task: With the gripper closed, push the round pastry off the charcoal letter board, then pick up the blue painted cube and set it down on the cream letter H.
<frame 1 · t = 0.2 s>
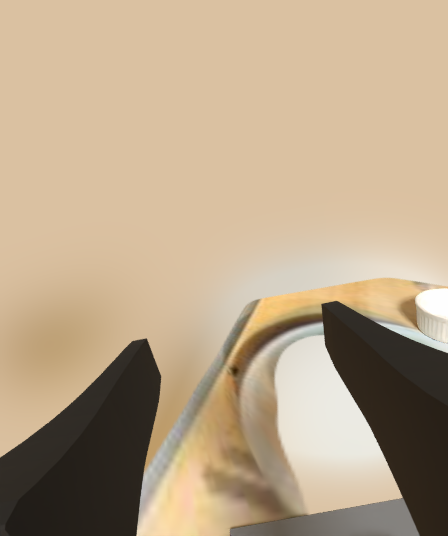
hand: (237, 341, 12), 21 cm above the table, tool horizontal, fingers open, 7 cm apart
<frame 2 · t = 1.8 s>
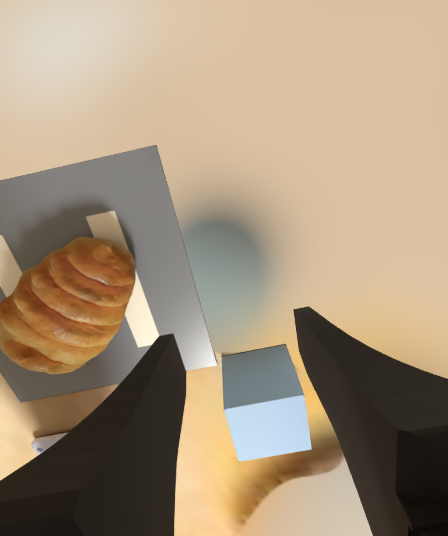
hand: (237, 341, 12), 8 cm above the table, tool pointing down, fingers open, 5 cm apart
pastry: (77, 295, 20), resting on letter board
blue cube: (258, 374, 24), on the table
letter board: (77, 294, 20), on the table
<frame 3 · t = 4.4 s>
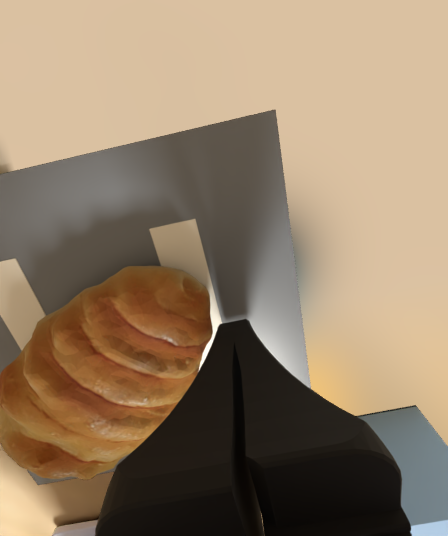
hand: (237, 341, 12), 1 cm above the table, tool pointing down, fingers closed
pastry: (116, 346, 14), resting on letter board, touching gripper
blue cube: (369, 444, 17), on the table
letter board: (126, 343, 14), on the table
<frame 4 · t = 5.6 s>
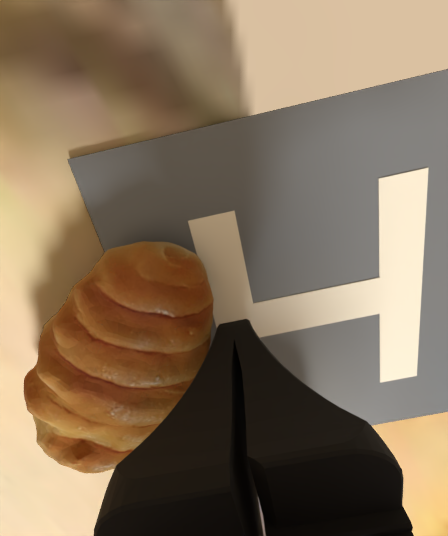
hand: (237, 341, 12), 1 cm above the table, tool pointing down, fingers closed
pastry: (132, 337, 13), on the table, touching gripper, letter board
letter board: (315, 305, 13), on the table
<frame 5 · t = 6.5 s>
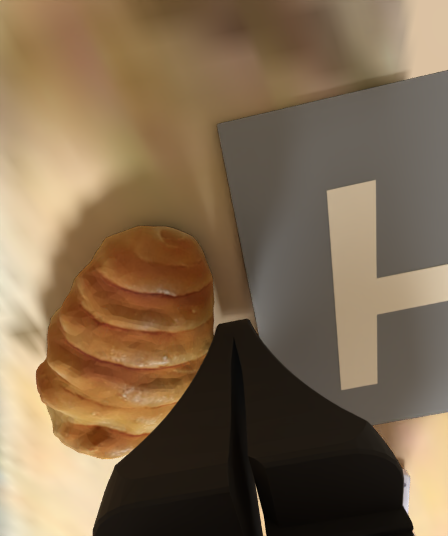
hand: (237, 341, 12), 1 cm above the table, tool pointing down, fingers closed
pastry: (137, 327, 14), on the table, touching gripper
letter board: (436, 282, 13), on the table
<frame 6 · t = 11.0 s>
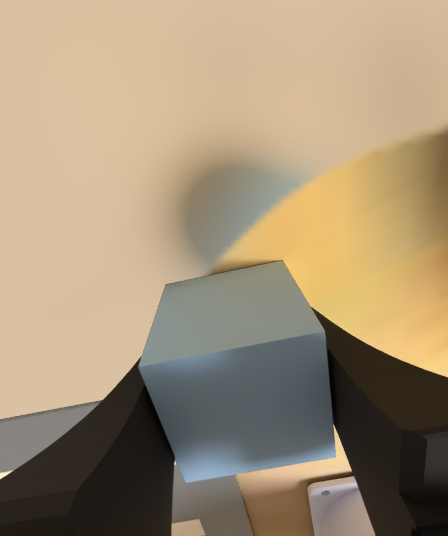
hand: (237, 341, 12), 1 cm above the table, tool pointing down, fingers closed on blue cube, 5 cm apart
blue cube: (234, 321, 13), on the table, touching gripper
letter board: (108, 502, 18), on the table
when the fingers open (3 cm above the table, at t = 15.0 s): blue cube drops 1 cm, resting on letter board.
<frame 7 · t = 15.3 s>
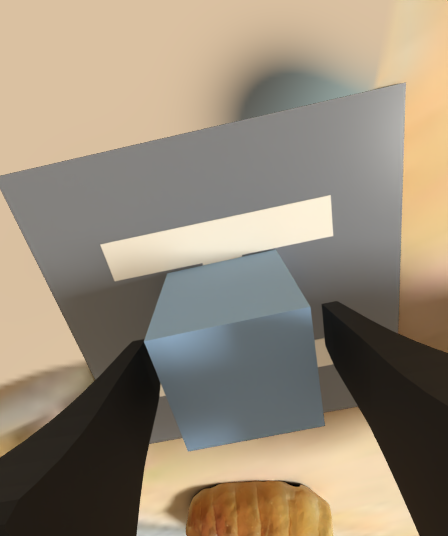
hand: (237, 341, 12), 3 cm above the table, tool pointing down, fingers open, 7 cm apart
pastry: (262, 502, 22), on the table
blue cube: (232, 308, 14), resting on letter board
letter board: (233, 307, 14), on the table
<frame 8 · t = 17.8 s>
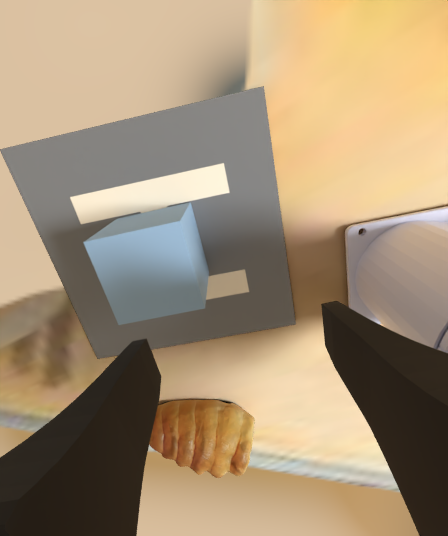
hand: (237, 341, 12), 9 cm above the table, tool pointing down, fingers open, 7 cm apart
pastry: (206, 421, 27), on the table
blue cube: (164, 246, 20), resting on letter board
letter board: (166, 246, 20), on the table
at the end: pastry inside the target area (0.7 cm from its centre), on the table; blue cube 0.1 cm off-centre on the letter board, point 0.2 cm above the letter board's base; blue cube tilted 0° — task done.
